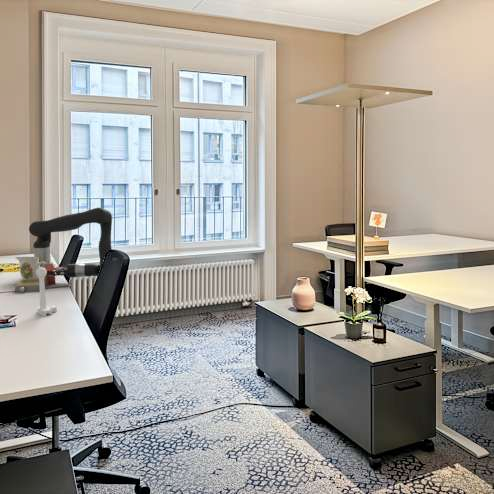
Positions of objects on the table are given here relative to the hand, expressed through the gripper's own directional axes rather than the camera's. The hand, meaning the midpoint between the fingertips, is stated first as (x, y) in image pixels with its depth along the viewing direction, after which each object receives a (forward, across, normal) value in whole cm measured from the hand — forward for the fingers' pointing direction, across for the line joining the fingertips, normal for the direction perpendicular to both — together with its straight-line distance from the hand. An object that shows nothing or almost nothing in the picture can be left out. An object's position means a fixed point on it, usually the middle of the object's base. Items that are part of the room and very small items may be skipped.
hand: (46, 271), depth 284 cm
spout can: (-2, 0, +7) cm, 7 cm away
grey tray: (+5, +13, +7) cm, 16 cm away
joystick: (-12, +66, +7) cm, 68 cm away
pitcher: (+10, -13, +7) cm, 18 cm away
